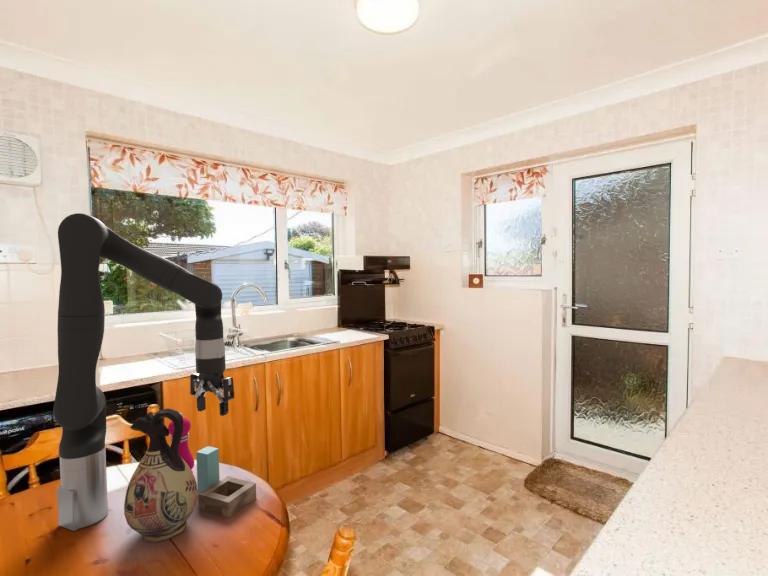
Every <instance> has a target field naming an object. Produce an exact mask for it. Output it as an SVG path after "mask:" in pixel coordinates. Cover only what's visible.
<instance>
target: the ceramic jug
mask: <svg viewBox="0 0 768 576" xmlns="http://www.w3.org/2000/svg"><path fill="white" fill-rule="evenodd" d="M180 413H181V412H179V411H177V409H176V410H175V409H172V408H163V409H160V410H158V411H156V412H155V414H153V411H149V412H148V413H147V414H146V415H144V417H142V416H141V417H138V418H136V420H134V422H133V423H132V424H131V426H130V427H129V429H130V430H133V431H135V432H141V433H143V434H144V435H146V436H148V438H149V442H148V448H147V449H146V452H145V453H144V455H143V457H142V458H141V460H140V461H139V462H138V464H137V467H136V468H135V470H134V472H133V473H132V475H131V477H130V480H129V483H128V485H127V489H126V492H125V496H124V504H123V512H124V513H123V514H124V518H125V521H126V523H127V525H128V526H129V528H131V530H133V531H135V532H136V533H138V534H140V535H141V536H142V538H143V540H144V541H148V542H151V543H152V542H155V543H156V542H157V543H158V542H161V541H164V540H168V539H171V538H172V537H175V536H176V535H178V534H181V533H182V532H183V531H184V530H185V529H186V527H187V523H188V519H189V518H190V517H191V516H192V514H193V512H194V511H195V508H196V505H197V503H198V498H199V495H198V486H197V481H196V480H197V479H196V477H195V475H194V472H193V473H192V471H193V470H192V471H191V469H190V467H189V466H188V464H187V463H186V462H185V461H184V460H183V459H182V457H181V456H180V454H179V452H178V450H179V445H180V441H181V438H182V434H183V429H184V428H183V424H184V421H183V418H184V417H183V414H182V413H181V414H182V415H181V414H180ZM164 418H165V419H169V420H170V422H171V421H173V423H174V428H175V429H174V433H173V438H172V442H171V444H170V445H169V443H168V441H167V438H166V437H168V436H170V433H169V430H168V426H166V424H165V423H164V422H163V419H164Z"/></svg>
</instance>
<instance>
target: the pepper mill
mask: <svg viewBox="0 0 768 576" xmlns="http://www.w3.org/2000/svg"><path fill="white" fill-rule="evenodd" d="M179 413H180V414H181V415H182V416H183V413H182V412H179ZM183 421H184V424H183V428H184V429H183V434H182V438H181V441H180V445H179V450H178V452H179V454H180V456H181V457H182V459H183V460H184V461H185V462H186V463H187V464H188V466H189V467H190V469H191V471H192V473H193V474H194V471H193V469H194V467H195V458H194V456H193V454H192V452H191V451H190V448H189V438H190V433H189V431H190V430H191V428H192V424H191V421H190V420H189V419H188V418H187V417H183ZM167 428H168V430H169V436H170V437H169V438H170V439H169V441H170V442H171V443H172V438H173V433H174V429H175V428H174V423H173V421H171V420H170V422H169V423H168V426H167Z"/></svg>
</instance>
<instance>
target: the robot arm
mask: <svg viewBox="0 0 768 576" xmlns="http://www.w3.org/2000/svg"><path fill="white" fill-rule="evenodd" d="M57 239H58V240H57V241H58V247H59V249H58V250H59V259H60V270H61V271H60V284H59V293H58V307H57V308H58V309H57V360H58V362H57V363H58V364H57V365H58V374H57V375H58V376H57V383H56V390H55V396H54V397H55V398H54V403H53V409H52V410H53V414H52V415H53V418H54V420H55V422H56V423H57V424H58V425H59V427H61V428H62V430H61V431H62V432H61V437H60V442H59V445H58V452H59V453H58V454H59V472H60V473H59V474H60V485H59V486H56V487H57V488H56V497H57V498H56V499H57V517H58V519H57V520H58V526H59V527H62V528H65V529H66V530H67V529H68V530H70V531H71V532H72V531H73V532H74V531H77V530H80V529H83V528H86V527H89V526H92V525H94V524H97V523H98V522H101V521H102V520H103V519H104V518H106V517H107V515H108V513H109V499H108V498H109V497H108V480H107V475H108V474H107V459H106V458H107V453H106V436H107V435H106V434H107V402H106V400H107V399H106V396H105V394H104V392H103V390H102V389H101V388H100V387H99V386H98V385H97V384H96V383H97V382H96V381H97V380H96V379H97V378H96V376H97V375H96V374H97V372H96V371H97V365H98V359H99V357H100V353H101V350H102V349H101V348H102V345H103V340H104V334H105V318H106V317H105V316H106V315H105V314H106V310H105V301H104V300H105V299H104V296H103V291H102V290H103V289H102V286H101V281H100V273H99V272H100V271H99V270H100V269H99V268H100V259H101V258H103V259H106V260H108V261H111V262H113V263H116V264H118V265H120V266H122V267H124V268H126V269H128V270H129V271H131V272H132V273H135V274H136V275H138V276H139V277H141V278H143V279H145V280H146V281H148V282H150V283H152V284H154V285H156V286H158V287H161V288H162V289H165V290H166V291H169V292H171V293H174V294H177V295H179V296H181V297H182V298H184V299H185V300H187V301H188V302H191V303H193V305H194V309H195V311H194V312H195V331H194V332H195V345H194V346H195V347H194V352H195V353H194V355H195V373H191V374H190V379H189V381H190V383H189V384H190V385H189V386H190V388H189V389H190V392H189V394H190V395H191V396H194V398H195V399H196V408H197V411H198V412H203V411H205V410H206V409H207V406H206V405H207V403H206V394H207V393H208V392H209V393H213V395H214V396H215V397H217V399H218V400H219V403H218V405H219V415H220V416H221V417H224V416H226V415H227V414H228V413H229V411H230V410H229V409H230V408H229V401H230V400H234V399H235V386H234V377H233V376H230V377H225V375H224V372H225V371H226V369H227V368H226V344H225V340H224V339H225V338H224V324H223V323H224V322H223V318H222V300H223V292H222V289H221V288H220V286H219V285H217V284H216V283H214V282H212V281H209V280H207V279H205V278H203V277H200V276H198V275H196V274H195V273H194V274H193V273H192V272H190V271H189V270H187V269H186V268H185V267H183V266H181V265H179V264H177V263H175V262H173V261H171V260H169V259H166V258H164V257H163V256H161V255H158V254H155V253H153V252H151V251H149V250H146V249H145V248H142V247H140V246H138V245H136V244H134V243H132V242H130V241H129V240H128V239H125V238H124V237H122V236H121V235H119V234H118V233H117V232H115V231H114V230H112V229H111V228H109V227H108V226H106V225H105V223H103V222H102V221H101V220H100V219H98V218H96V217H94V216H92V215H89V214H86V213H82V212H77V213H73V214H70V215H68V216H66V217H64V219H63V220H62V221H61V222H60V224H59V225H58V228H57Z"/></svg>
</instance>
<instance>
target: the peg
mask: <svg viewBox="0 0 768 576" xmlns="http://www.w3.org/2000/svg"><path fill="white" fill-rule="evenodd" d="M219 449H220V448H218V447H214V446H209V445H207V446H205V447H203V448H201V449H199V450H197V451H196V454H195V455H196V478H197V479H196V480H197V481H196V484H197V489H198V496H199V494H200V493H201V492H203V491H204V490H206V489H208V488H209V487H211V486H212V485H214V484H216V483H217V482H219V481H221V480H220V456H219V455H220V452H219V451H220V450H219Z"/></svg>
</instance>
